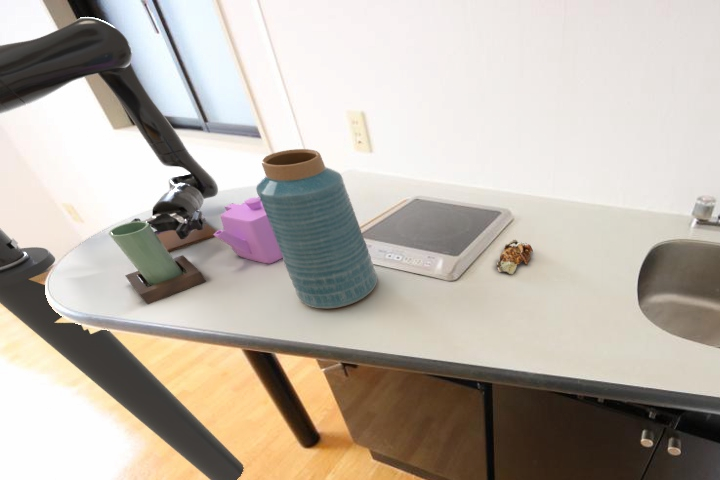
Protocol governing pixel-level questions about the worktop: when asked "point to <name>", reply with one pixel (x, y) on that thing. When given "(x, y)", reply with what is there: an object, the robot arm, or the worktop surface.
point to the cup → (145, 251)
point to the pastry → (513, 256)
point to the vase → (316, 229)
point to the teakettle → (249, 232)
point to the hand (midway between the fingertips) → (157, 238)
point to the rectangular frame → (167, 282)
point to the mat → (174, 242)
